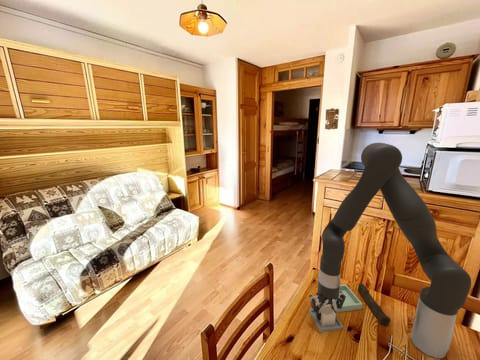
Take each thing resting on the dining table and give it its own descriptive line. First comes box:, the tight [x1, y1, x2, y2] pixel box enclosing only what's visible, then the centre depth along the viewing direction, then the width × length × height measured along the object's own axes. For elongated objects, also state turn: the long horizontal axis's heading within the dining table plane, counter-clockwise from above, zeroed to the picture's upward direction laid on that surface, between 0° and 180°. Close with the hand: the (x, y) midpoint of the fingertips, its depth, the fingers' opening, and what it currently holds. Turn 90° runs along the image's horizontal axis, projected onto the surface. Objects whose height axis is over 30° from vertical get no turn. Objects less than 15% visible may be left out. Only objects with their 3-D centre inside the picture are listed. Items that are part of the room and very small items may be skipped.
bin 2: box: [335, 284, 364, 313], centre depth 91 cm, size 11×11×3 cm
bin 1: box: [308, 308, 344, 333], centre depth 82 cm, size 9×9×2 cm
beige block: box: [319, 304, 337, 326], centre depth 82 cm, size 5×5×5 cm
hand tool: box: [357, 283, 392, 326], centre depth 89 cm, size 19×4×5 cm, turn 177°
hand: (325, 317), depth 82 cm, fingers closed on beige block, 5 cm apart
